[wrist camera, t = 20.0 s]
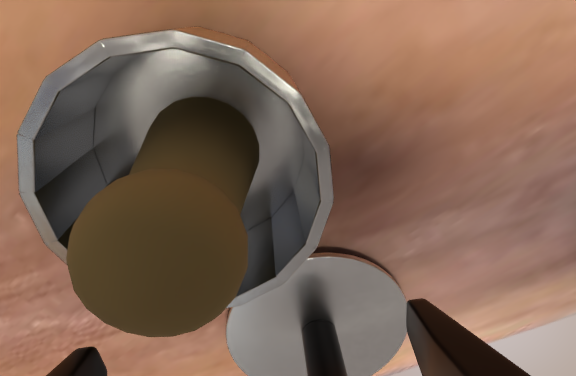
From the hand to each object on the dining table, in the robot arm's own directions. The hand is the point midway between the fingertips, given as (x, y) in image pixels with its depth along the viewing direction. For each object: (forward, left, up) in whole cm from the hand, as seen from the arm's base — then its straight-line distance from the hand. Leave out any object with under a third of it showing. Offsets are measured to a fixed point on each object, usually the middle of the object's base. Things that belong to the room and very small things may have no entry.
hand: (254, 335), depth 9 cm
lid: (-13, -2, -12) cm, 18 cm away
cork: (+1, +3, -12) cm, 13 cm away
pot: (+1, +3, -13) cm, 13 cm away
